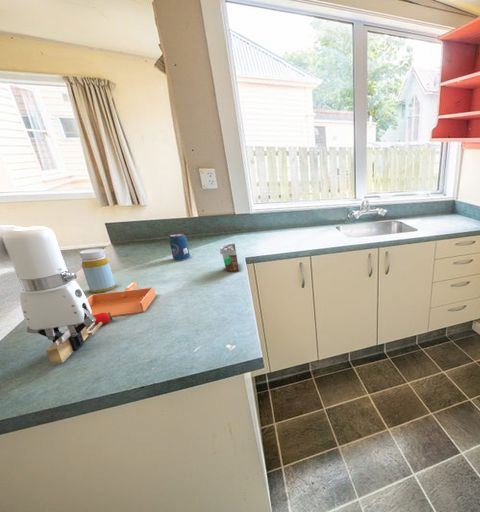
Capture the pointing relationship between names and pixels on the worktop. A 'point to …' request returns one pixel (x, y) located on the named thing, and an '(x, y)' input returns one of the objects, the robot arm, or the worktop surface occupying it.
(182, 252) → the soda can
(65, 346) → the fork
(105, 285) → the bottle
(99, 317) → the strawberry
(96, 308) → the dustpan
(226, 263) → the food container
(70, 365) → the worktop surface
